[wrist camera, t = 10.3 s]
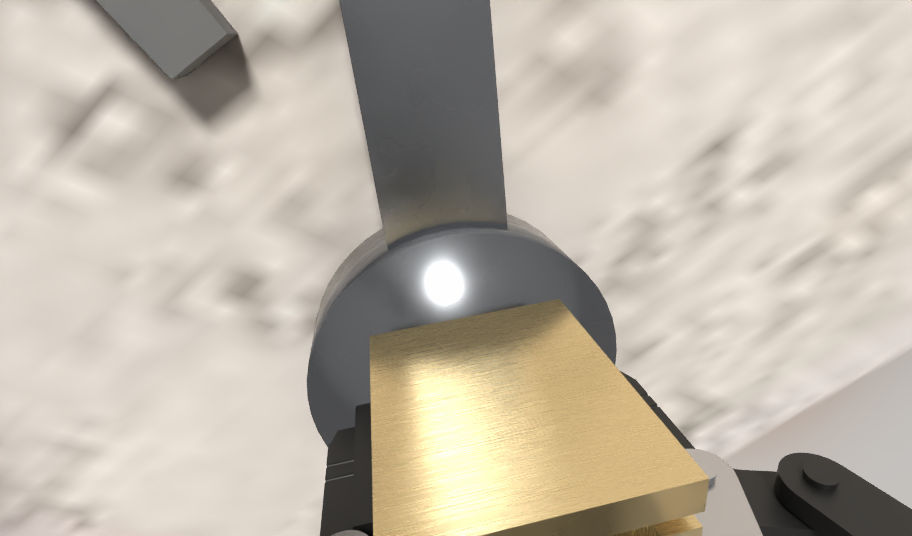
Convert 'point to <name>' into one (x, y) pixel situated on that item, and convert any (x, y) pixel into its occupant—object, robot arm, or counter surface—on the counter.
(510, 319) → the brass cube frame
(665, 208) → the counter surface
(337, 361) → the ratchet
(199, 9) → the door handle
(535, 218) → the counter surface
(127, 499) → the counter surface
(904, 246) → the counter surface
